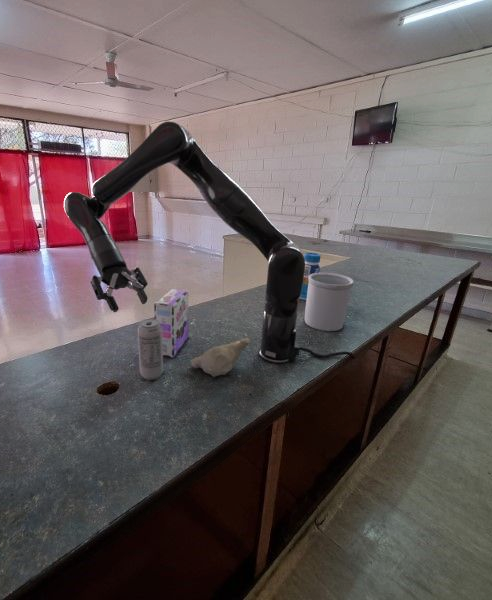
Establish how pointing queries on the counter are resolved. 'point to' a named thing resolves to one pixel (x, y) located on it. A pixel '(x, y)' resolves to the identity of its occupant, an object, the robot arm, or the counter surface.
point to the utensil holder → (327, 300)
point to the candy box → (173, 320)
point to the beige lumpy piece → (220, 358)
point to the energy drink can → (150, 349)
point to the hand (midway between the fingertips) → (131, 306)
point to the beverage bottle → (309, 271)
